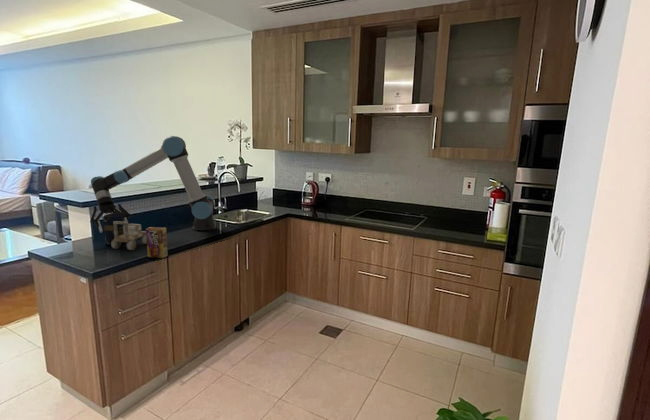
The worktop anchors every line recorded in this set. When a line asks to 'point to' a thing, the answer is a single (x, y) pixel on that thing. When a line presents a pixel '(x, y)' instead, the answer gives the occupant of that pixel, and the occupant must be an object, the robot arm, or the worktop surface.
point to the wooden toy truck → (128, 235)
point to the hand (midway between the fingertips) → (115, 229)
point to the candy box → (156, 242)
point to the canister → (109, 226)
